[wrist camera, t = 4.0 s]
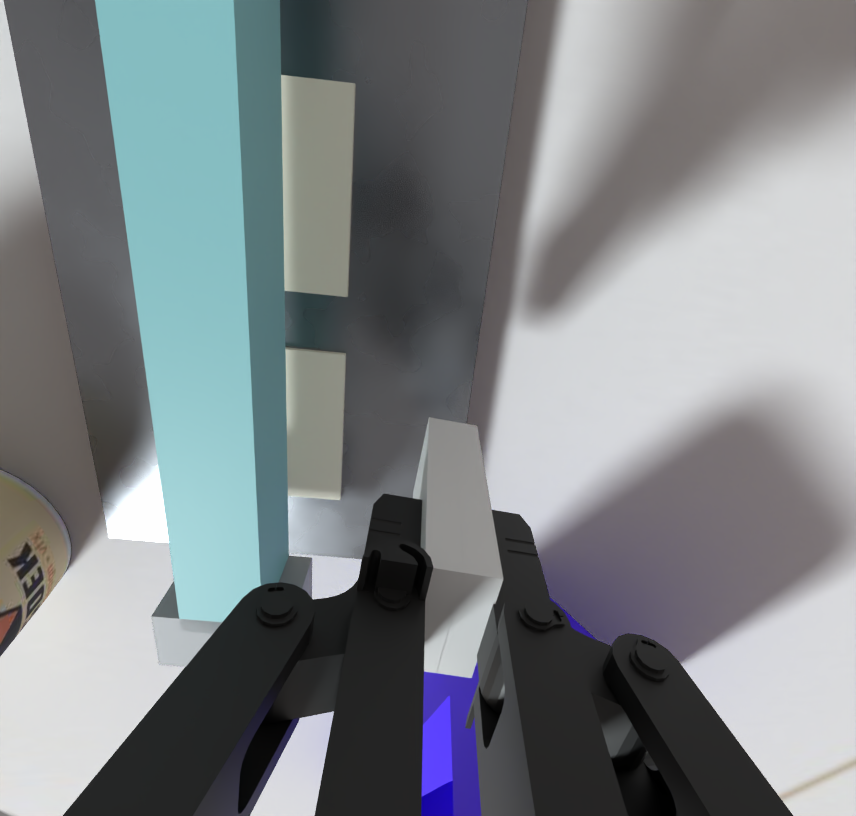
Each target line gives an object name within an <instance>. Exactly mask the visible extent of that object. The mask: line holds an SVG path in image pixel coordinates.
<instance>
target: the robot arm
mask: <svg viewBox="0 0 856 816" xmlns="http://www.w3.org/2000/svg"><path fill="white" fill-rule="evenodd" d="M534 543H535V542H534V539H533V535H532V531H531V528H530V527H529V526H528V524H527V523H526V522H525V521H524V520H523V518H522V517H521V516H520V515H519V514H514V513H507V512H501V511H495V510H492V509H491V504H490V498H489V492H488V486H487V480H486V474H485V469H484V463H483V457H482V451H481V445H480V440H479V434H478V428H477V426H476V425H470V424H465V423H459V422H453V421H448V420H442V419H436V418H431V417H429V419H428V424H427V429H426V433H425V438H424V443H423V448H422V453H421V457H420V462H419V467H418V472H417V476H416V481H415V486H414V491H413V498H408V497H402V496H396V495H390V494H383V495H382V496H381V497H380V498H379V499H378V500H377V501H376V502H375V503H374V504H373V509H372V514H371V520H370V525H369V530H368V535H367V541H366V546H365V551H364V555H363V557H362V563H361V568H360V574H359V578H358V581H357V582H356V583H355V584H354V586H353V587H352V588H350V589H349V590H347V591H346V592H344V593H342V594H340V595H337V596H334V597H329V598H323V599H314V600H313V599H312V598H311V597H310V595H309V594H308V593H307V592H306V591H305V590H304V589H302V588H300V587H298V586H296V585H294V584H289V583H283V582H277V583H267V584H264V585H262V586H259V587H257V588H254V589H253V590H251V591H250V592H249V593H248V594H247V595H245V596H244V597H243V598H242V599H241V600H240V602H239V603H238V604H237V605H236V607H235V608H234V609H233V610H232V611H231V613H230V614H229V615H228V616H227V617H226V619H225V620H224V621H223V622H222V623H221V625H220V626H219V627H218V628H217V630H216V631H215V632H214V633H213V634H212V636H211V637H210V638H209V639H208V640H207V642H206V643H205V644H204V645H203V646H202V648H201V649H200V650H199V651H198V653H197V654H196V655H195V656H194V657H193V659H192V660H191V661H190V662H189V663H188V665H187V666H186V667H185V668H184V669H183V671H182V672H181V673H180V674H179V676H178V677H177V678H176V679H175V680H174V682H173V683H172V684H171V685H170V686H169V688H168V689H167V690H166V691H165V693H164V694H163V695H162V696H161V697H160V699H159V700H158V701H157V702H156V703H155V705H154V706H153V707H152V708H151V709H150V711H149V712H148V713H147V714H146V716H145V717H144V718H143V719H142V720H141V722H140V723H139V724H138V725H137V726H136V728H135V729H134V730H133V731H132V732H131V734H130V735H129V736H128V737H127V739H126V740H125V741H124V742H123V743H122V745H121V746H120V747H119V748H118V749H117V751H116V752H115V753H114V754H113V756H112V757H111V758H110V759H109V760H108V762H107V763H106V764H105V765H104V766H103V768H102V769H101V770H100V771H99V772H98V774H97V775H96V776H95V777H94V779H93V780H92V781H91V782H90V783H89V785H88V786H87V787H86V788H85V789H84V791H83V792H82V793H81V794H80V795H79V797H78V798H77V799H76V800H75V802H74V803H73V804H72V805H71V806H70V808H69V809H68V810H67V811H66V812H65V814H64V815H63V816H250V814H251V812H252V810H253V808H254V806H255V804H256V802H257V800H258V799H259V797H260V795H261V793H262V791H263V789H264V787H265V785H266V783H267V781H268V779H269V777H270V775H271V774H272V772H273V770H274V768H275V766H276V764H277V762H278V760H279V758H280V756H281V754H282V752H283V750H284V748H285V747H286V745H287V743H288V741H289V739H290V737H291V735H292V733H293V731H294V729H295V727H296V725H297V723H298V721H299V718H302V717H307V716H312V715H317V714H322V713H327V712H332V711H334V715H333V721H332V726H331V731H330V737H329V742H328V747H327V753H326V758H325V764H324V769H323V774H322V780H321V785H320V790H319V796H318V801H317V806H316V812H315V816H421V802H422V749H423V697H424V671H425V672H432V673H439V674H446V675H452V676H459V677H466V678H472V675H473V672H474V669H475V666H476V663H478V675H479V682H478V685H477V688H476V691H475V694H474V697H473V700H472V703H471V706H470V709H469V712H468V715H467V719H466V726H465V728H467V729H471V726H472V723H473V720H474V718H475V732H476V746H477V761H478V775H479V789H480V803H481V816H793V815H792V813H791V812H790V811H789V809H788V808H787V807H786V805H785V804H784V803H783V801H782V800H781V799H780V797H779V796H778V795H777V793H776V792H775V791H774V789H773V788H772V787H771V785H770V784H769V783H768V781H767V780H766V778H765V777H764V776H763V774H762V773H761V772H760V770H759V769H758V768H757V766H756V765H755V764H754V762H753V761H752V760H751V758H750V757H749V756H748V754H747V753H746V752H745V750H744V749H743V748H742V746H741V745H740V743H739V742H738V741H737V739H736V738H735V737H734V735H733V734H732V733H731V731H730V730H729V729H728V727H727V726H726V725H725V723H724V722H723V721H722V719H721V718H720V717H719V715H718V714H717V713H716V711H715V710H714V709H713V707H712V706H711V704H710V703H709V702H708V700H707V699H706V698H705V696H704V695H703V694H702V692H701V691H700V690H699V688H698V687H697V686H696V684H695V683H694V682H693V680H692V679H691V678H690V676H689V675H688V674H687V672H686V671H685V670H684V668H683V667H682V665H681V664H680V663H679V661H678V660H677V659H676V658H675V657H674V656H673V655H672V654H671V653H670V652H669V651H668V650H667V649H666V648H664V647H663V646H661V645H660V644H659V643H657V642H656V641H654V640H652V639H649V638H647V637H644V636H642V635H636V634H625V635H622V636H618V638H617V639H616V640H615V641H614V643H613V644H612V646H610V645H607V644H605V643H602V642H600V641H598V640H595V639H593V638H590V637H588V636H586V635H584V634H582V633H580V632H578V631H576V630H575V629H573V628H572V627H571V625H570V622H569V620H568V618H567V616H566V614H565V612H564V611H563V610H562V609H561V608H560V607H559V606H558V605H557V604H556V603H555V602H553V601H551V600H550V597H549V593H548V590H547V586H546V582H545V579H544V575H543V572H542V568H541V564H540V561H539V558H538V553H537V550H536V546H535V545H534Z"/></svg>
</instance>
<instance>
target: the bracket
mask: <svg viewBox="0 0 856 816" xmlns="http://www.w3.org/2000/svg"><path fill="white" fill-rule="evenodd" d="M550 600H551V601H553V602H555V601H554V600H552V599H551V598H550ZM555 603H556V602H555ZM556 604H557V603H556ZM557 605H558V604H557ZM558 606H559V605H558ZM559 607H560V606H559ZM560 608H561V607H560ZM561 609H562V608H561ZM562 610H563V609H562ZM563 611H564V612H565V614H566V616H567V618H568V620H569V622H570V625H571V627H572V628H573V629H575V630H576V631H578V632H580V633H582V634H584V635H586V636H588V637H590V638H593V639H595V638H594V637H593V636H592V635H591V634H590V633H589V632H588V631H586V630H585V629H584V628H583V627H582V626H581V625H580V624H579V623H578V622H577V621H575V620H574V619H573V618H572V617H571V616H570V615H569V614H568V613H567V612H566V611H565V610H563ZM595 640H596V639H595ZM478 682H479V675H478V663H476V666H475V669H474V672H473V675H472V678H466V677H459V676H452V675H446V674H439V673H432V672H425V671H424V697H423V749H422V802H421V816H481V803H480V789H479V775H478V761H477V746H476V732H475V718H474V720H473V723H472V726H471V729H467V728H465V726H466V719H467V715H468V712H469V709H470V706H471V703H472V700H473V697H474V694H475V691H476V688H477V685H478Z"/></svg>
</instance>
